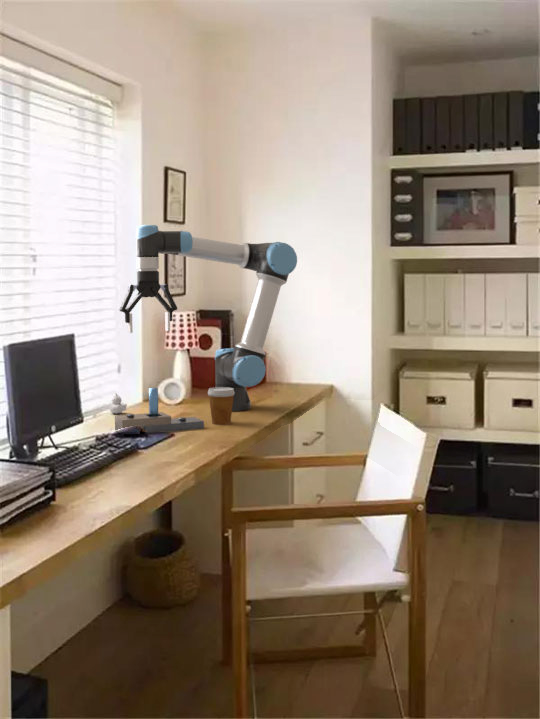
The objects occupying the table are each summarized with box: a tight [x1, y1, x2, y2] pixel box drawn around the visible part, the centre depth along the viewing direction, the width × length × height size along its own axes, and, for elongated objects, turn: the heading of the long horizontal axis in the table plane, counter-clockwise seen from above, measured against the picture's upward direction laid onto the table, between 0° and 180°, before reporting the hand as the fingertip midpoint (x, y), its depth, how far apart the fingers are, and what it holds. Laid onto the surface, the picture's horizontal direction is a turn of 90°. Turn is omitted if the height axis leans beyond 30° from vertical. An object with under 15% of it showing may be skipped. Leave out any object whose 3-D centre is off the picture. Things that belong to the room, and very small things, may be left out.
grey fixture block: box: [114, 411, 205, 434], centre depth 291 cm, size 28×9×6 cm, turn 115°
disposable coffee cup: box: [207, 386, 235, 426], centre depth 302 cm, size 10×10×12 cm
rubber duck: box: [109, 393, 128, 415], centre depth 321 cm, size 5×7×8 cm
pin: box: [148, 387, 159, 417], centre depth 289 cm, size 3×3×14 cm
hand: (149, 331), depth 303 cm, fingers open, 13 cm apart
